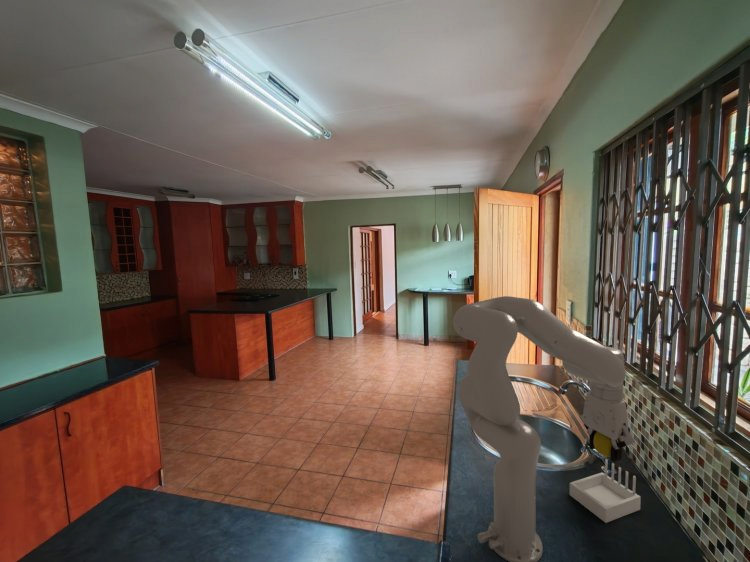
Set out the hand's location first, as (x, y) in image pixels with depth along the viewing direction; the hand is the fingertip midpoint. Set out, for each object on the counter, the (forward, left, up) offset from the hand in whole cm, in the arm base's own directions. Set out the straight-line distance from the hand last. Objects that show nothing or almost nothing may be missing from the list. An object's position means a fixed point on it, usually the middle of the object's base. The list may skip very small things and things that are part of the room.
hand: (604, 453), depth 94 cm
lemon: (0, 0, -1) cm, 1 cm away
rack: (0, 0, -14) cm, 14 cm away
